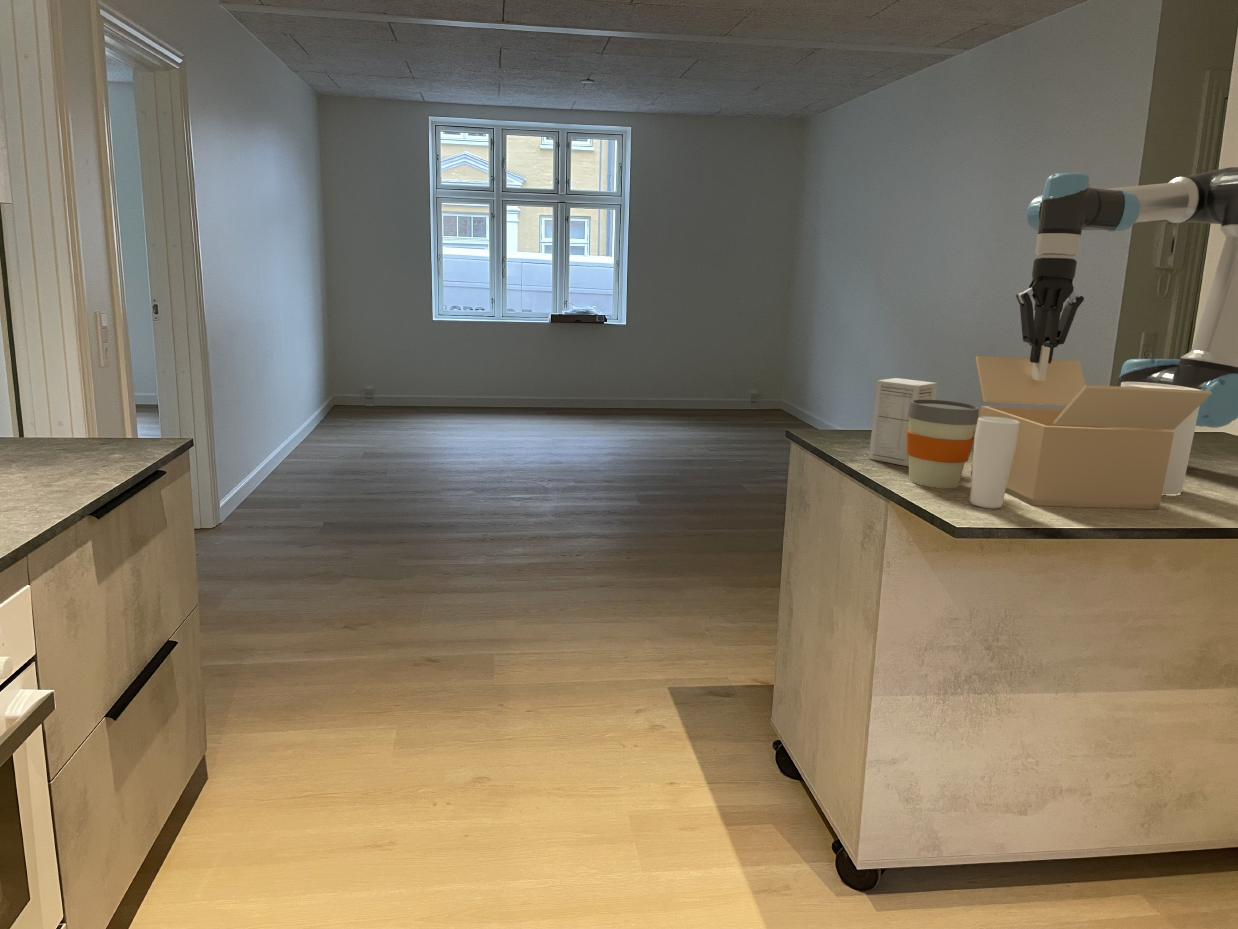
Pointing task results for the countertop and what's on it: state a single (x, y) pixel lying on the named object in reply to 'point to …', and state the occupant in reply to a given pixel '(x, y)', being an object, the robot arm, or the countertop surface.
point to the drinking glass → (992, 460)
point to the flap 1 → (1028, 381)
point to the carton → (1084, 462)
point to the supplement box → (895, 417)
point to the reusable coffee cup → (939, 441)
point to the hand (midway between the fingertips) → (1037, 379)
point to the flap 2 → (1131, 407)
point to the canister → (1175, 442)
